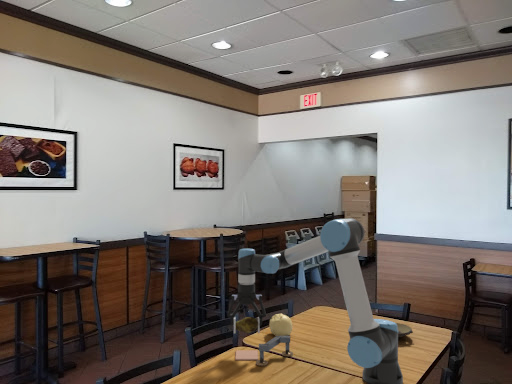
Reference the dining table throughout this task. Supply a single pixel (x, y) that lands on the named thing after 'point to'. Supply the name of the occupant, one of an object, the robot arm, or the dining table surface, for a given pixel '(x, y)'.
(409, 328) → the oil lamp
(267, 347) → the rail
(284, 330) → the cream lumpy ball
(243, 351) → the plate
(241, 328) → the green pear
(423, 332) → the dining table surface
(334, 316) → the dining table surface
